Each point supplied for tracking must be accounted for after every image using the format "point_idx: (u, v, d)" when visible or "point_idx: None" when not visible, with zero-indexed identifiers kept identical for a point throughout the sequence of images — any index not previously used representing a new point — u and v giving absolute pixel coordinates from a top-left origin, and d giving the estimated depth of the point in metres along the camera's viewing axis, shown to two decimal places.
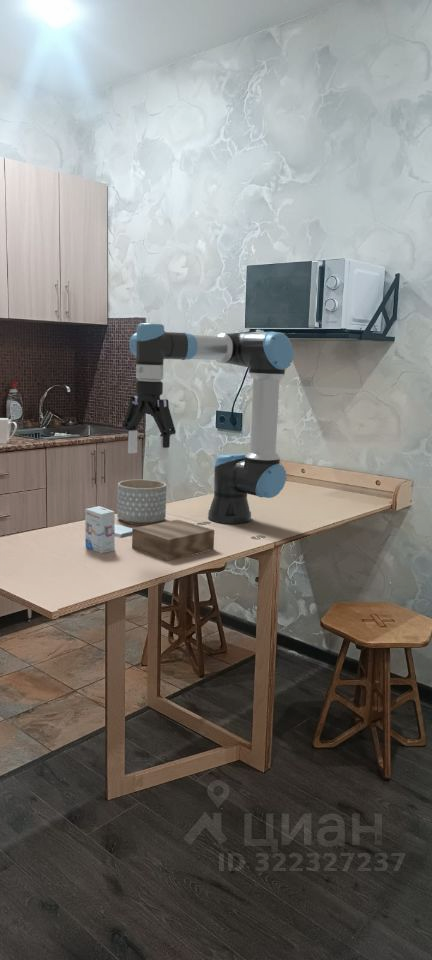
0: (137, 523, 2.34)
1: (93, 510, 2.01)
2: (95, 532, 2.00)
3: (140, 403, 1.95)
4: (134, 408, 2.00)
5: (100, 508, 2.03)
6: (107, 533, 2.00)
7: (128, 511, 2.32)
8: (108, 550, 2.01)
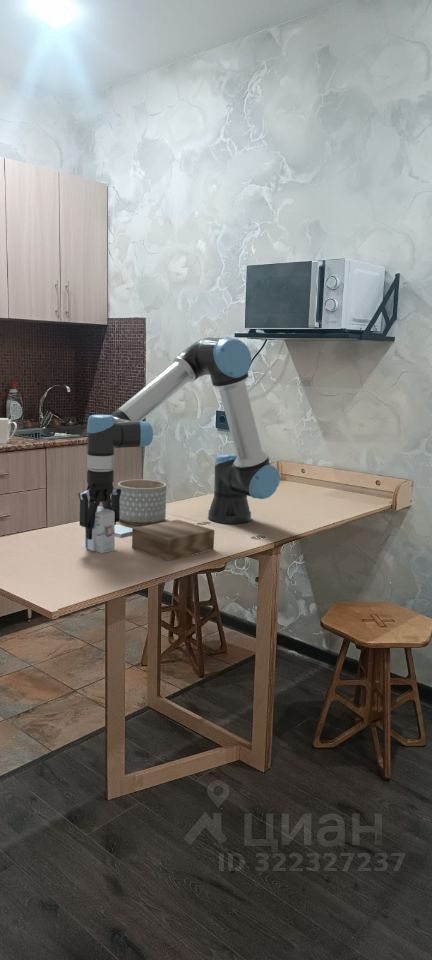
0: (137, 523, 2.34)
1: None
2: None
3: None
4: (113, 499, 2.05)
5: (100, 508, 2.03)
6: (107, 533, 2.00)
7: (128, 511, 2.32)
8: (108, 550, 2.01)
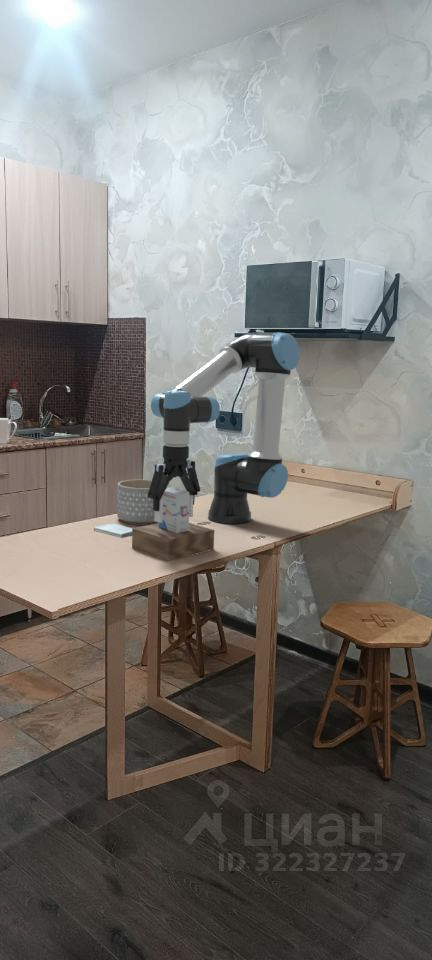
0: (137, 523, 2.34)
1: (168, 490, 2.03)
2: (170, 512, 2.02)
3: None
4: (190, 472, 2.07)
5: (174, 489, 2.05)
6: (182, 513, 2.02)
7: (128, 511, 2.32)
8: (183, 530, 2.03)
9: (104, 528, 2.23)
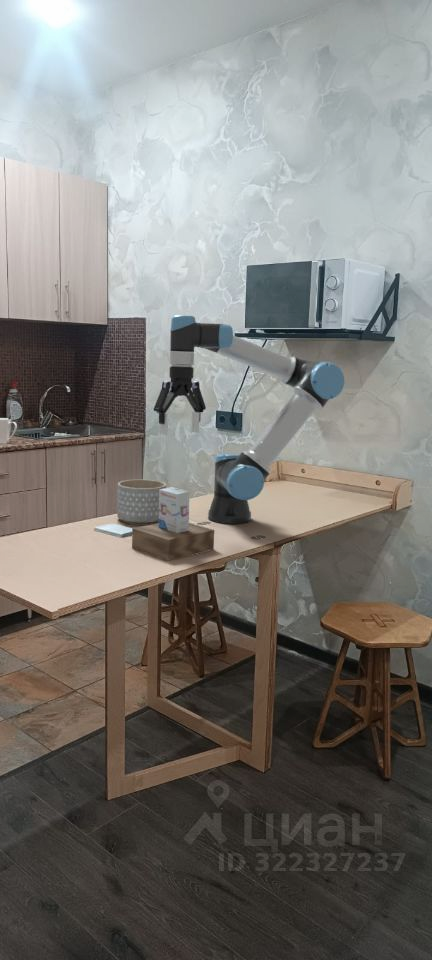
0: (137, 523, 2.34)
1: (168, 490, 2.03)
2: (170, 512, 2.02)
3: None
4: (195, 392, 2.26)
5: (174, 489, 2.05)
6: (182, 513, 2.02)
7: (128, 511, 2.32)
8: (183, 530, 2.03)
9: (104, 528, 2.23)
